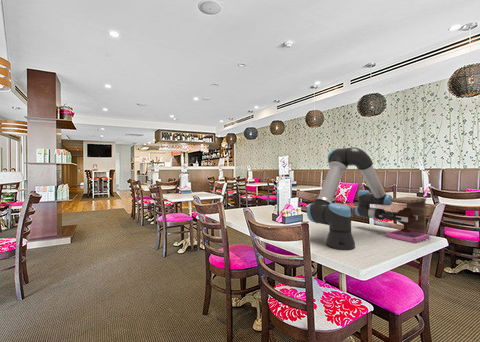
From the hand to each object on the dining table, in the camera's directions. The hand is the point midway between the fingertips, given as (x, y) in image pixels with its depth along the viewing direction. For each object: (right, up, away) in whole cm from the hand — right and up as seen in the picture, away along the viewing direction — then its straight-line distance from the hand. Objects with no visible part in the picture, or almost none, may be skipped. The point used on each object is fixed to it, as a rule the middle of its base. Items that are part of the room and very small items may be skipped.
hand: (412, 218), depth 148 cm
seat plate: (-1, -12, +3) cm, 13 cm away
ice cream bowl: (-2, -9, +4) cm, 10 cm away
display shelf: (+1, -12, +3) cm, 13 cm away
